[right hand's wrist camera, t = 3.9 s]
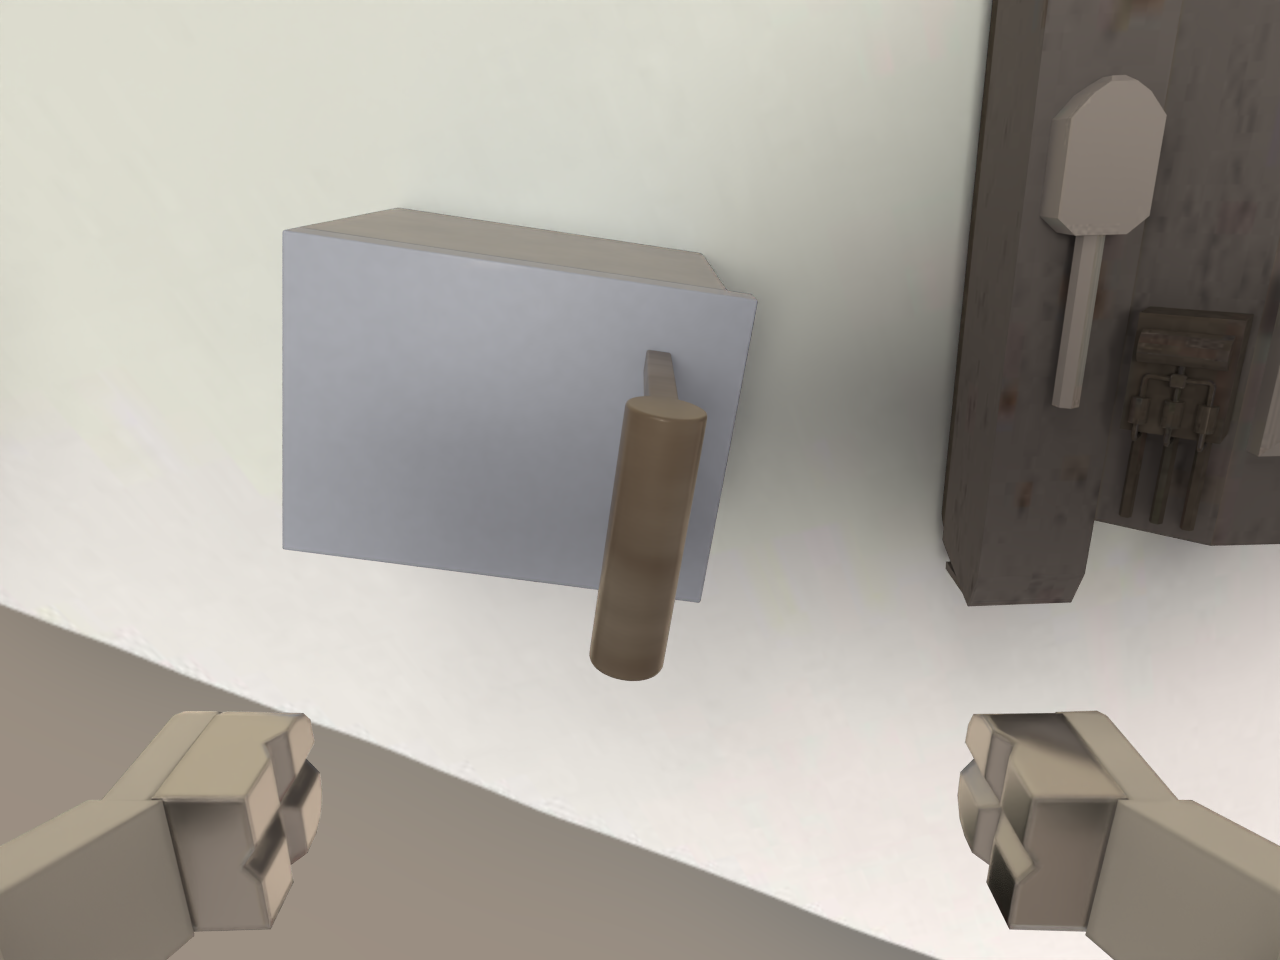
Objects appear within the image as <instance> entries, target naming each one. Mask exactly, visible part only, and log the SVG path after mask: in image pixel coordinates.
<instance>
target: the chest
mask: <svg viewBox="0 0 1280 960" xmlns="http://www.w3.org/2000/svg"><path fill="white" fill-rule="evenodd" d="M300 228H307V229H313V230H320V231H327V232H334V233H340V234H347V235H354V236H361V237H368V238H374V239H381V240H388V241H395V242H401V243H408V244H415V245H422V246H428V247H435V248H442V249H449V250H455V251H462V252H469V253H476V254H482V255H489V256H496V257H503V258H510V259H516V260H523V261H530V262H537V263H543V264H550V265H557V266H564V267H570V268H577V269H584V270H591V271H597V272H604V273H611V274H618V275H624V276H631V277H638V278H645V279H652V280H658V281H665V282H672V283H679V284H685V285H692V286H699V287H706V288H712V289H719V290H726V288H725V287H724V285H723V284H722V282H721V281H720V279H719V278H718V276H717V275H716V273H715V272H714V270H713V269H712V268H711V266H710V265H709V263H708V262H707V260H706V259H705V257H704V256H703V255H702V254H701V253H696V252H689V251H683V250H676V249H669V248H663V247H656V246H649V245H643V244H636V243H629V242H623V241H616V240H609V239H603V238H596V237H589V236H583V235H576V234H569V233H562V232H556V231H549V230H542V229H536V228H529V227H522V226H516V225H509V224H502V223H496V222H489V221H482V220H476V219H469V218H462V217H456V216H449V215H442V214H436V213H429V212H422V211H416V210H409V209H402V208H395V209H389V210H383V211H378V212H373V213H368V214H363V215H358V216H353V217H348V218H343V219H338V220H333V221H328V222H323V223H318V224H312V225H307V226H302V227H300ZM726 291H727V290H726Z"/></svg>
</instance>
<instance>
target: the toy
mask: <svg viewBox="0 0 1280 960" xmlns="http://www.w3.org/2000/svg"><path fill="white" fill-rule="evenodd" d="M942 519H943V526H944V531H943V542H944V545H945V548H946V550H947V553H948V556H949V558H950V561H951V562H946V570H947V571H948V573H949V574H950V576H951V577H952V578H953V580H954V581H955V583H956V584H957V586H958V587H959V589H960V590H961V592H962V593H963V595H964V598H965V600H966V603H967V605H968V606H987V605H1013V604H1039V603H1065V602H1071V601H1072V599H1073V597H1074V595H1075V593H1076V591H1077V589H1078V587H1079V585H1080V582H1081V580H1082V578H1083V576H1084V574H1085V569H1086V563H1087V558H1088V552H1089V547H1090V541H1091V536H1092V530H1093V524H1094V520H1096V521H1100V522H1105V523H1109V524H1114V525H1119V526H1123V527H1128V528H1132V529H1137V530H1141V531H1146V532H1151V533H1155V534H1160V535H1164V536H1169V537H1174V538H1178V539H1183V540H1187V541H1192V542H1196V543H1201V544H1206V545H1210V546H1215V545H1255V544H1280V0H993V5H992V15H991V25H990V35H989V45H988V55H987V65H986V75H985V85H984V95H983V105H982V115H981V125H980V135H979V145H978V155H977V165H976V175H975V185H974V195H973V205H972V215H971V225H970V235H969V245H968V255H967V266H966V276H965V286H964V296H963V306H962V316H961V326H960V336H959V346H958V356H957V366H956V376H955V386H954V396H953V406H952V416H951V426H950V436H949V446H948V456H947V466H946V476H945V486H944V496H943V506H942Z"/></svg>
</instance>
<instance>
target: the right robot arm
mask: <svg viewBox="0 0 1280 960" xmlns="http://www.w3.org/2000/svg"><path fill="white" fill-rule="evenodd" d="M314 743H315V740H314V735H313V730H312V725H311V720H310V719H309V718H308V717H307V716H306V715H305V714H304V713H272V712H227V711H226V712H219V711H184V712H182V713H179V714H176V715H174V716H173V717H172V718H171V719H170V720H169V721H168V722H167V723H166V725H165V726H164V727H163V728H162V729H161V730H160V732H159V733H158V734H157V735H156V736H155V737H154V739H153V740H152V741H151V742H150V743H149V745H148V746H147V747H146V748H145V749H144V750H143V752H142V753H141V754H140V755H139V756H138V757H137V759H136V760H135V761H134V762H133V763H132V765H131V766H130V767H129V768H128V769H127V770H126V772H125V773H124V774H123V775H122V776H121V777H120V779H119V780H118V781H117V782H116V783H115V785H114V786H113V787H112V788H111V789H110V790H109V792H108V793H107V794H106V795H105V796H104V798H103V799H102V800H87V801H85V802H83V803H82V804H80V805H78V806H76V807H74V808H72V809H70V810H68V811H66V812H64V813H62V814H61V815H59V816H57V817H55V818H53V819H51V820H49V821H47V822H45V823H43V824H41V825H39V826H38V827H36V828H34V829H32V830H30V831H28V832H26V833H24V834H22V835H20V836H18V837H17V838H15V839H13V840H11V841H9V842H7V843H5V844H3V845H1V846H0V960H167V959H168V958H169V957H170V956H171V955H173V954H174V953H175V952H176V951H177V950H178V949H179V948H181V947H182V946H183V945H184V944H185V943H186V942H188V941H189V940H190V939H191V938H192V937H193V936H194V932H195V931H228V930H262V929H271V928H272V925H273V923H274V921H275V919H276V917H277V915H278V913H279V911H280V909H281V907H282V905H283V903H284V901H285V899H286V897H287V895H288V893H289V891H290V889H291V886H292V884H293V876H292V870H291V864H293V863H294V862H295V861H297V860H298V859H300V858H301V857H302V856H304V855H305V854H306V853H308V851H309V849H310V847H311V844H312V842H313V840H314V838H315V836H316V833H317V829H318V824H319V820H320V815H321V810H322V785H321V778H320V772H319V771H318V770H317V769H316V768H315V767H314V766H313V765H312V764H311V763H310V762H309V761H308V760H307V759H306V757H307V756H308V754H309V752H310V750H311V748H312V747H313V745H314ZM965 743H966V745H967V747H968V748H969V750H970V752H971V754H972V756H973V758H974V759H973V760H972V761H971V762H970V763H969V764H968V765H967V766H966V767H965V768H964V769H963V770H962V771H961V772H960V779H959V787H958V806H959V817H960V822H961V825H962V829H963V832H964V836H965V838H966V840H967V842H968V845H969V847H970V849H971V851H972V853H974V854H975V855H976V856H978V857H979V858H980V859H982V860H983V861H985V862H986V863H987V864H989V870H988V876H987V884H988V886H989V889H990V891H991V893H992V895H993V897H994V899H995V901H996V903H997V905H998V907H999V909H1000V911H1001V913H1002V915H1003V917H1004V919H1005V921H1006V923H1007V925H1008V927H1009V929H1015V930H1050V931H1085V932H1086V936H1087V937H1088V938H1089V939H1090V940H1092V941H1093V942H1094V943H1095V944H1096V945H1097V946H1099V947H1100V948H1101V949H1102V950H1103V951H1104V952H1106V953H1107V954H1108V955H1109V956H1110V957H1111V958H1112V959H1114V960H1280V846H1279V845H1277V844H1275V843H1273V842H1271V841H1269V840H1267V839H1265V838H1263V837H1261V836H1259V835H1258V834H1256V833H1254V832H1252V831H1250V830H1248V829H1246V828H1244V827H1242V826H1240V825H1239V824H1237V823H1235V822H1233V821H1231V820H1229V819H1227V818H1225V817H1223V816H1221V815H1219V814H1218V813H1216V812H1214V811H1212V810H1210V809H1208V808H1206V807H1204V806H1202V805H1200V804H1198V803H1197V802H1195V801H1193V800H1178V799H1177V797H1176V796H1175V795H1174V794H1173V793H1172V792H1171V790H1170V789H1169V788H1168V787H1167V786H1166V785H1165V783H1164V782H1163V781H1162V780H1161V779H1160V778H1159V776H1158V775H1157V774H1156V773H1155V772H1154V770H1153V769H1152V768H1151V767H1150V766H1149V765H1148V763H1147V762H1146V761H1145V760H1144V759H1143V758H1142V756H1141V755H1140V754H1139V753H1138V752H1137V751H1136V749H1135V748H1134V747H1133V746H1132V745H1131V743H1130V742H1129V741H1128V740H1127V739H1126V738H1125V736H1124V735H1123V734H1122V733H1121V732H1120V731H1119V729H1118V728H1117V727H1116V726H1115V725H1114V724H1113V722H1112V721H1111V720H1110V719H1109V718H1108V716H1106V715H1104V714H1102V713H1100V712H1098V711H1074V712H1056V713H1028V714H973V716H972V718H971V720H970V722H969V724H968V728H967V734H966V740H965Z"/></svg>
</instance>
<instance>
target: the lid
mask: <svg viewBox="0 0 1280 960" xmlns="http://www.w3.org/2000/svg"><path fill="white" fill-rule="evenodd" d="M757 303H758V302H757V300H756V298H755V297H754V296H753V295H752V294H746V293H739V292H733V291H726V290H719V289H712V288H706V287H699V286H692V285H685V284H679V283H672V282H665V281H658V280H652V279H645V278H638V277H631V276H624V275H618V274H611V273H604V272H597V271H591V270H584V269H577V268H570V267H564V266H557V265H550V264H543V263H537V262H530V261H523V260H516V259H510V258H503V257H496V256H489V255H482V254H476V253H469V252H462V251H455V250H449V249H442V248H435V247H428V246H422V245H415V244H408V243H401V242H395V241H388V240H381V239H374V238H368V237H361V236H354V235H347V234H340V233H334V232H327V231H320V230H313V229H307V228H300V227H298V228H293V229H288V230H283V549H286V550H294V551H302V552H309V553H317V554H325V555H333V556H340V557H348V558H356V559H364V560H372V561H379V562H387V563H395V564H403V565H410V566H418V567H426V568H434V569H442V570H449V571H457V572H465V573H473V574H480V575H488V576H496V577H504V578H511V579H519V580H527V581H535V582H543V583H550V584H558V585H566V586H574V587H581V588H589V589H597V590H598V597H597V604H596V611H595V618H594V625H593V632H592V639H591V646H590V653H589V656H590V659H591V662H592V664H593V665H594V666H595V667H596V668H597V669H598V670H599V671H600V672H602V673H604V674H606V675H608V676H610V677H613V678H616V679H620V680H627V681H640V680H646V679H649V678H652V677H654V676H655V675H657V674H658V673H659V672H660V670H661V669H662V667H663V663H664V657H665V652H666V646H667V640H668V635H669V629H670V624H671V618H672V613H673V607H674V601H675V600H682V601H690V602H700V601H701V595H702V590H703V585H704V580H705V575H706V569H707V564H708V559H709V554H710V548H711V543H712V538H713V533H714V528H715V522H716V517H717V512H718V507H719V501H720V496H721V491H722V486H723V480H724V475H725V470H726V465H727V460H728V454H729V449H730V444H731V439H732V433H733V428H734V423H735V418H736V412H737V407H738V402H739V397H740V392H741V386H742V381H743V376H744V371H745V365H746V360H747V355H748V350H749V345H750V339H751V334H752V329H753V324H754V318H755V313H756V308H757Z"/></svg>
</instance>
